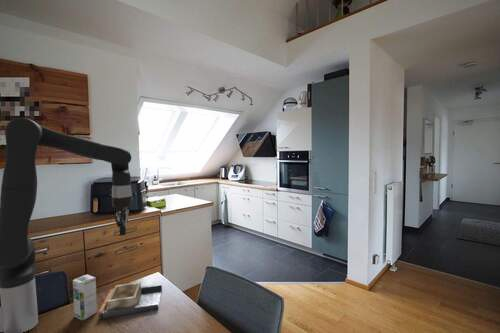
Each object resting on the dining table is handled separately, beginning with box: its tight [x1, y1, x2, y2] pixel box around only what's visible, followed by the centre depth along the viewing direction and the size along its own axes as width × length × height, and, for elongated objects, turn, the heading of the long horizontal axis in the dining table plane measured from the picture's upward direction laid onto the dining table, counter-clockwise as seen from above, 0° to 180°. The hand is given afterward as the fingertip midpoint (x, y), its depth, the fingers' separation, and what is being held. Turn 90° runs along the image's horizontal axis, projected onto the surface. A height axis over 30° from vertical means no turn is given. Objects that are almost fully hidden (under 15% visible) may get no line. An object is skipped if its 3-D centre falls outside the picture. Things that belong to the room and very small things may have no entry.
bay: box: [98, 283, 163, 320], centre depth 103 cm, size 21×15×3 cm
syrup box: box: [72, 274, 98, 321], centre depth 96 cm, size 6×6×14 cm
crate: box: [107, 281, 142, 310], centre depth 103 cm, size 10×12×5 cm
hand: (122, 234), depth 108 cm, fingers closed
